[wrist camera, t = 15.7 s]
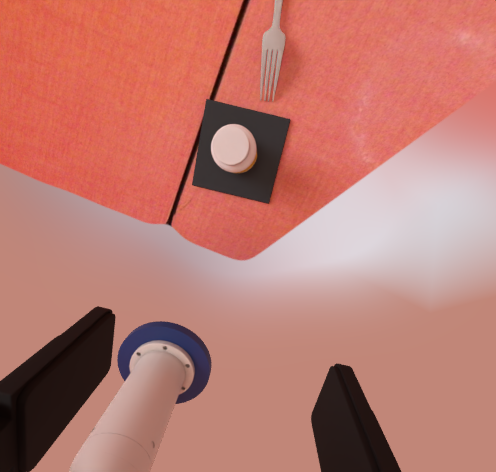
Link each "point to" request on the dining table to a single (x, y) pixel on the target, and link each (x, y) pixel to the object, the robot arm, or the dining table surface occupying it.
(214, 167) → the mat
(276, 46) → the fork
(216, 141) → the supplement bottle
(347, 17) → the dining table surface
